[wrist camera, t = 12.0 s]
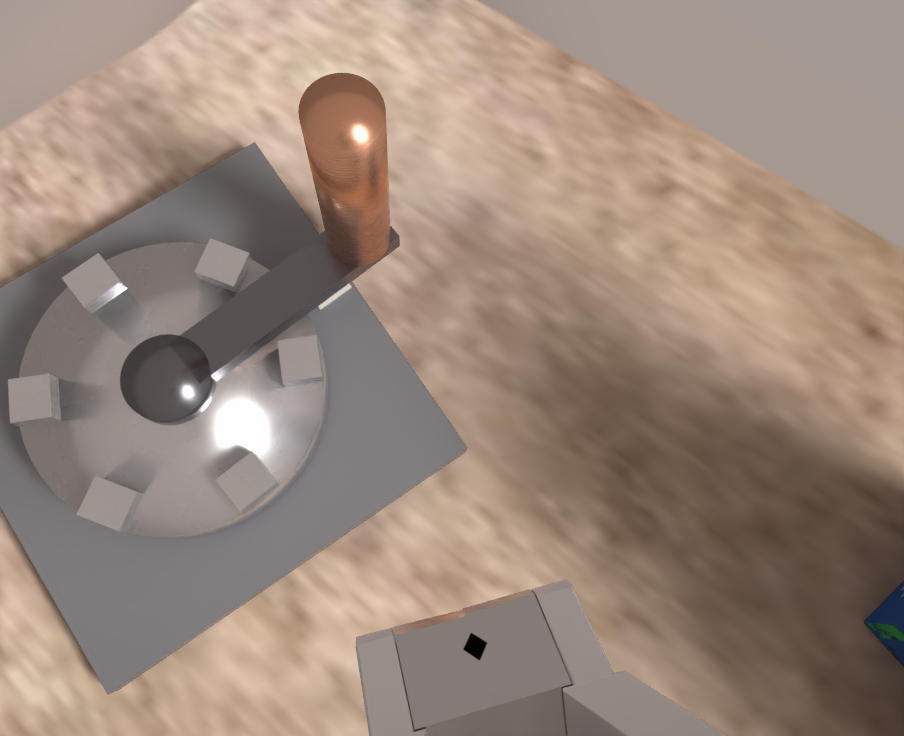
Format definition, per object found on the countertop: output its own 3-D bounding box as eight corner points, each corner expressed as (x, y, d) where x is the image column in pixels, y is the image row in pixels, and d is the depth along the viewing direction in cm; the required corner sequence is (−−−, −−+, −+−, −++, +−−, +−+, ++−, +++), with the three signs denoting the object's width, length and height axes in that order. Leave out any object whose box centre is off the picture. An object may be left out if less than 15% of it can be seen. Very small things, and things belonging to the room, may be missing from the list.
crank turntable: (149, 601, 38) (-1, 619, 24) (-17, 372, 40) (-246, 264, 26) (471, 348, 42) (505, 234, 28) (303, 151, 44) (256, -49, 30)
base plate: (465, 451, 43) (467, 447, 41) (118, 689, 39) (106, 695, 37) (259, 155, 46) (254, 140, 44) (-78, 349, 42) (-98, 340, 41)
